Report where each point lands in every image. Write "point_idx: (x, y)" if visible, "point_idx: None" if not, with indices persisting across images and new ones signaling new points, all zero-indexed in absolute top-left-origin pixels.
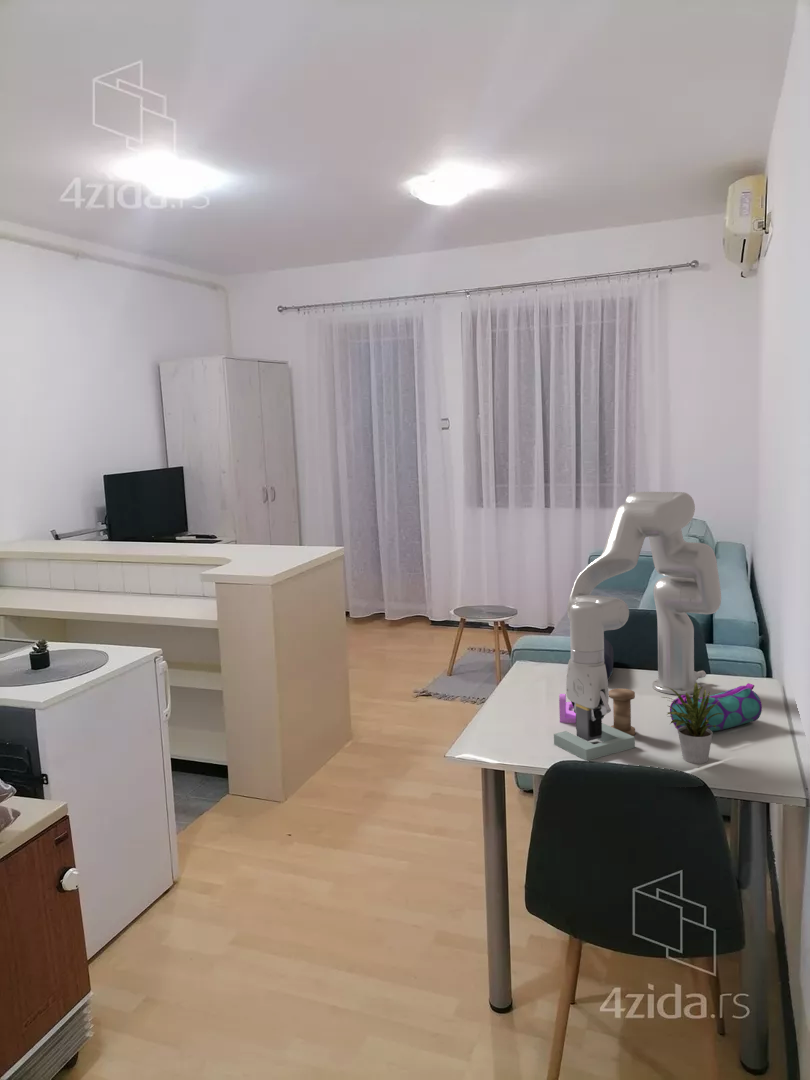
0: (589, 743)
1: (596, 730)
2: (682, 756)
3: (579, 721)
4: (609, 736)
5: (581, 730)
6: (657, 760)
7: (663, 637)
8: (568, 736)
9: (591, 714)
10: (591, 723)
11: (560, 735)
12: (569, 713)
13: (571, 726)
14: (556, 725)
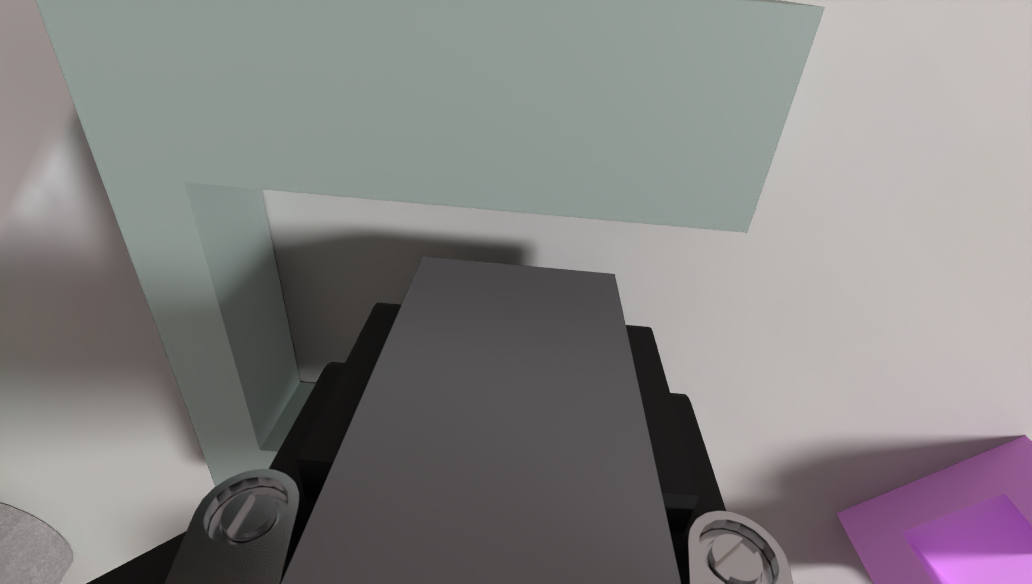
0: (233, 159)
1: (316, 389)
2: (16, 520)
3: (567, 399)
4: None
5: (526, 317)
6: (14, 412)
7: None
8: (583, 117)
9: (245, 577)
10: (316, 429)
11: (698, 50)
12: (1016, 561)
13: (883, 440)
14: (1025, 380)
